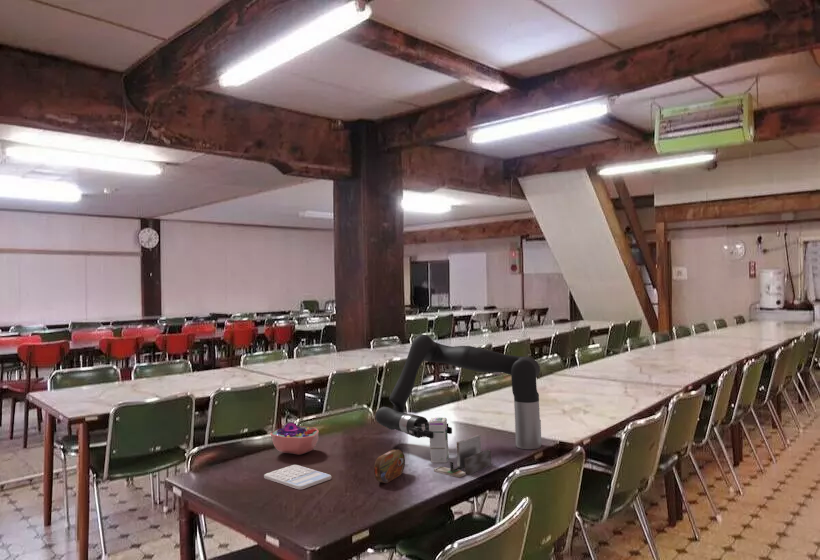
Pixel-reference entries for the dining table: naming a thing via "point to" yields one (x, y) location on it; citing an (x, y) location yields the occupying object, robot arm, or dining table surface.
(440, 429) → the syrup box
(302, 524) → the dining table surface
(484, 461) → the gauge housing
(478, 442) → the gauge paddle
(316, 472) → the calculator
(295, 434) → the cell model
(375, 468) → the tin
